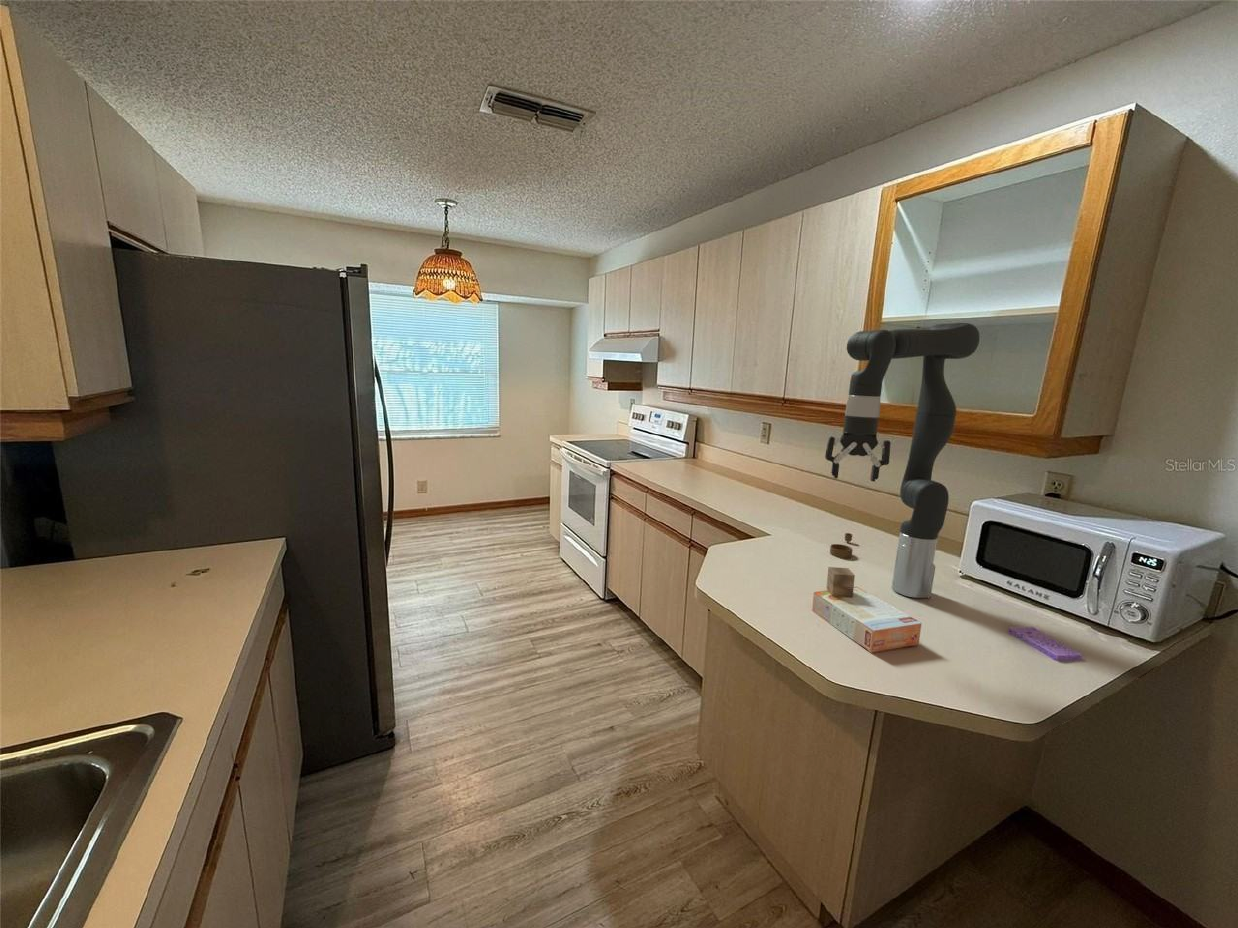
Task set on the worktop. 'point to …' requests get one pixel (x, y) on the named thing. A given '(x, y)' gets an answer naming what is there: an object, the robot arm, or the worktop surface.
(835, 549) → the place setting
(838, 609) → the cracker box
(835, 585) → the walnut block
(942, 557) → the worktop surface
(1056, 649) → the sponges
